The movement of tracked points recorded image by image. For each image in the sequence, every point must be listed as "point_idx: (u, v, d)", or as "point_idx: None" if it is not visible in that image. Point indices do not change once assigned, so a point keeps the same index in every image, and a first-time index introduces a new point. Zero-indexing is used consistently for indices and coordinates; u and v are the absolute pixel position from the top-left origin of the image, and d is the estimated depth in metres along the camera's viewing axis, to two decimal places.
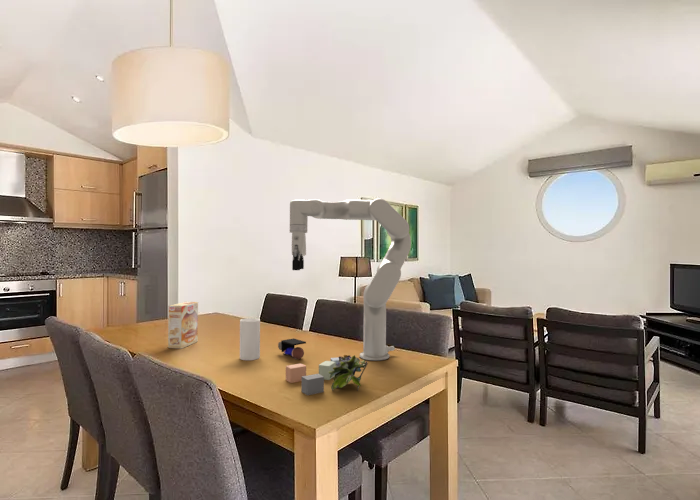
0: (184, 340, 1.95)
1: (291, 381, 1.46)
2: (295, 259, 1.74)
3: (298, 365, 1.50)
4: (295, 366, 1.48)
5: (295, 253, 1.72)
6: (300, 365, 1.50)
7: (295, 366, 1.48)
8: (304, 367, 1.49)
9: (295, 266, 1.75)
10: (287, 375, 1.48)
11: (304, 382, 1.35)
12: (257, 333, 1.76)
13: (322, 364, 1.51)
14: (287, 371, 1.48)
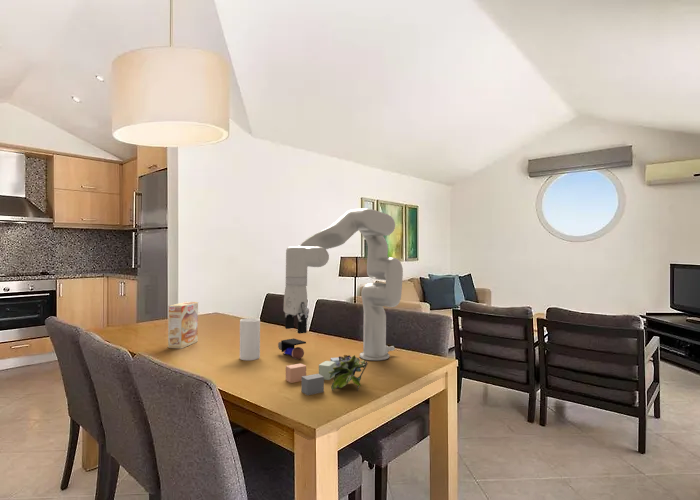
0: (184, 340, 1.95)
1: (291, 381, 1.46)
2: None
3: (298, 365, 1.50)
4: (295, 366, 1.48)
5: None
6: (300, 365, 1.50)
7: (295, 366, 1.48)
8: (304, 367, 1.49)
9: None
10: (287, 375, 1.48)
11: (304, 382, 1.35)
12: (257, 333, 1.76)
13: (322, 364, 1.51)
14: (287, 371, 1.48)
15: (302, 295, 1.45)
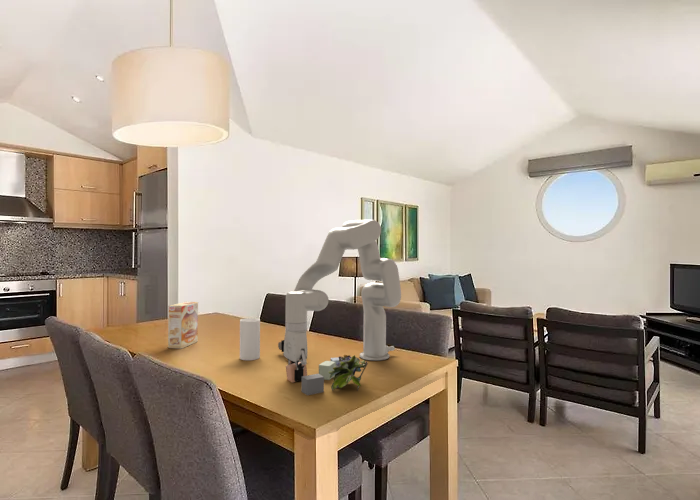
0: (184, 340, 1.95)
1: (292, 380, 1.47)
2: None
3: (298, 363, 1.50)
4: None
5: None
6: None
7: None
8: None
9: None
10: (288, 375, 1.48)
11: (304, 382, 1.35)
12: (257, 333, 1.76)
13: (322, 364, 1.51)
14: (288, 371, 1.48)
15: (302, 341, 1.45)
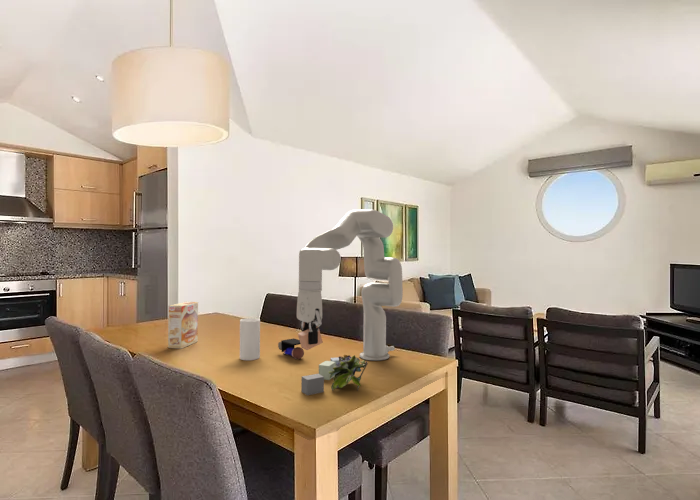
0: (184, 340, 1.95)
1: (307, 348, 1.36)
2: None
3: None
4: (307, 332, 1.37)
5: None
6: None
7: None
8: None
9: None
10: (302, 342, 1.38)
11: (304, 382, 1.35)
12: (257, 333, 1.76)
13: (322, 364, 1.51)
14: (300, 339, 1.38)
15: (317, 301, 1.35)
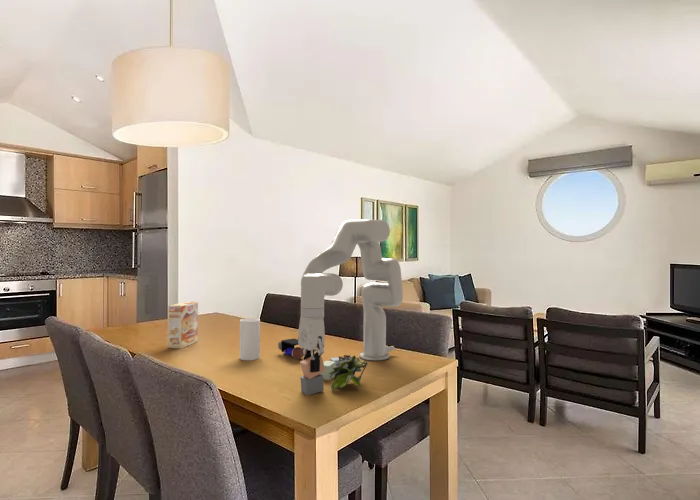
0: (184, 340, 1.95)
1: (310, 377, 1.34)
2: None
3: None
4: None
5: None
6: None
7: None
8: None
9: None
10: (304, 371, 1.36)
11: (303, 382, 1.35)
12: (257, 333, 1.76)
13: None
14: (303, 367, 1.36)
15: (319, 328, 1.33)
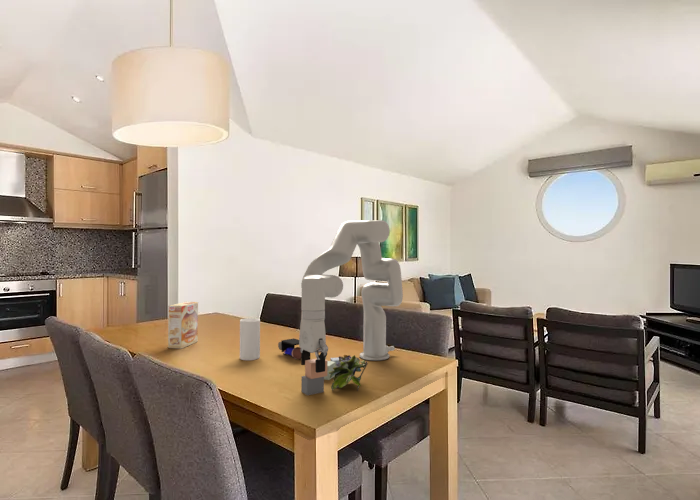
0: (184, 340, 1.95)
1: (311, 377, 1.35)
2: None
3: None
4: (315, 361, 1.37)
5: None
6: None
7: None
8: (325, 362, 1.37)
9: None
10: (307, 370, 1.37)
11: (304, 382, 1.35)
12: (257, 333, 1.76)
13: None
14: (307, 366, 1.37)
15: (320, 331, 1.33)
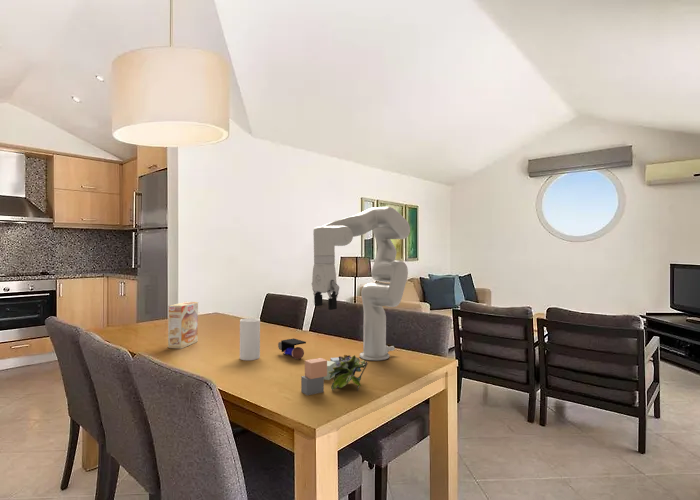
0: (184, 340, 1.95)
1: (311, 377, 1.35)
2: None
3: (318, 360, 1.38)
4: (315, 361, 1.36)
5: None
6: (320, 360, 1.38)
7: (315, 361, 1.37)
8: (325, 362, 1.37)
9: None
10: (306, 370, 1.36)
11: (304, 382, 1.35)
12: (257, 333, 1.76)
13: None
14: (306, 366, 1.36)
15: (331, 273, 1.50)
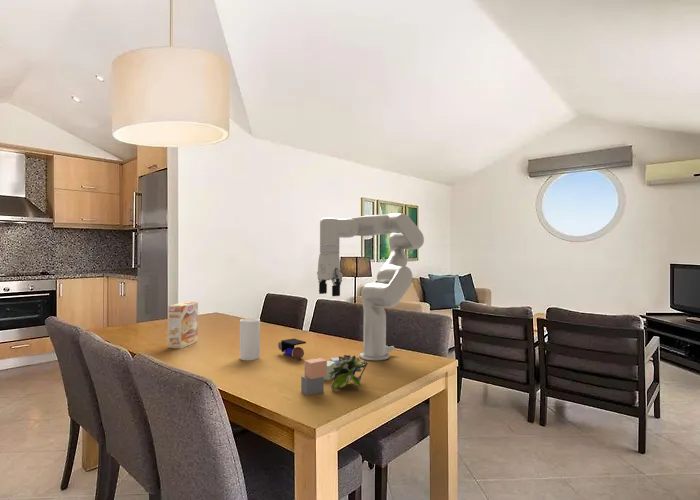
0: (184, 340, 1.95)
1: (311, 377, 1.35)
2: None
3: (318, 360, 1.38)
4: (315, 361, 1.36)
5: None
6: (320, 360, 1.38)
7: (315, 361, 1.37)
8: (325, 362, 1.37)
9: None
10: (306, 370, 1.36)
11: (304, 382, 1.35)
12: (257, 333, 1.76)
13: None
14: (306, 366, 1.36)
15: (336, 261, 1.59)
